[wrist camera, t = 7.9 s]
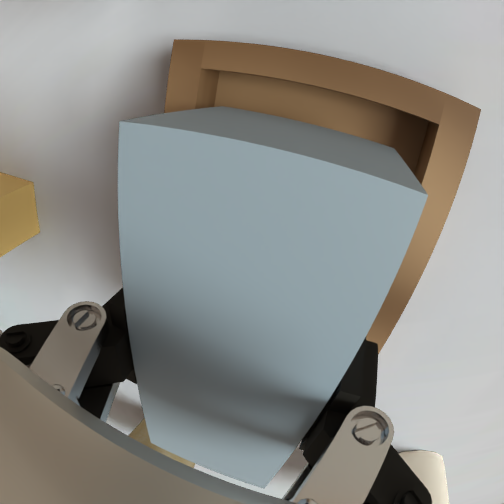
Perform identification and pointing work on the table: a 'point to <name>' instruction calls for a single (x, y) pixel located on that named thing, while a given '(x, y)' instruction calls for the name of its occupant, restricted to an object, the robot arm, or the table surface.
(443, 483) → the foam cup
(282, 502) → the robot arm
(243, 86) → the cradle
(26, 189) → the mustard wooden brick
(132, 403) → the table surface
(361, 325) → the pale grey-blue block
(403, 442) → the table surface
